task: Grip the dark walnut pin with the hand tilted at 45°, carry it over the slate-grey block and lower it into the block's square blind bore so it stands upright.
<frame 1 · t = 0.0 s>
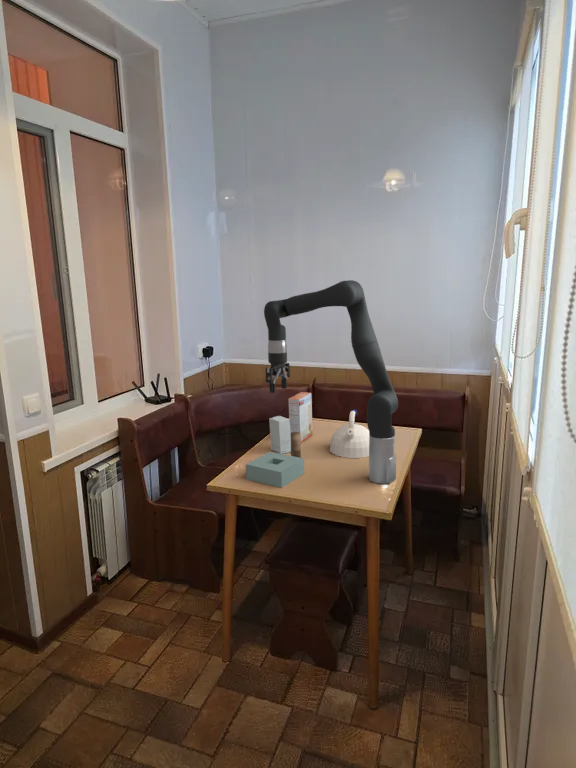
hand: (278, 390, 210), 29 cm above the table, tool pointing down, fingers open, 8 cm apart
kettle: (352, 450, 224), on the table
cracker box: (301, 438, 241), on the table
skincare box: (280, 451, 225), on the table
slate bore block: (275, 476, 197), on the table
walnut pin: (296, 463, 209), on the table
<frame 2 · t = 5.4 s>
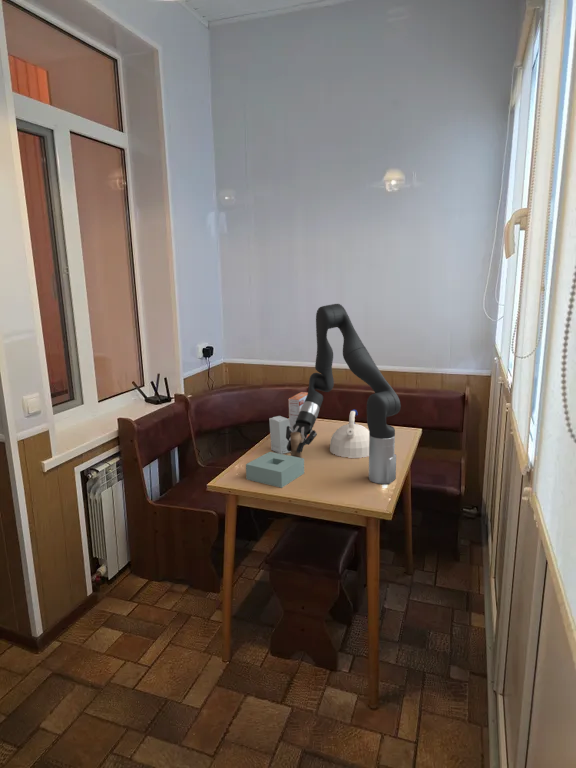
hand: (293, 451, 206), 6 cm above the table, tool tilted 45°, fingers closed on walnut pin, 4 cm apart
walnut pin: (296, 463, 209), on the table, touching gripper
everything else where it was.
when the fingers open (9 cm above the table, at t = 12.5 s): walnut pin drops 2 cm, resting on slate bore block.
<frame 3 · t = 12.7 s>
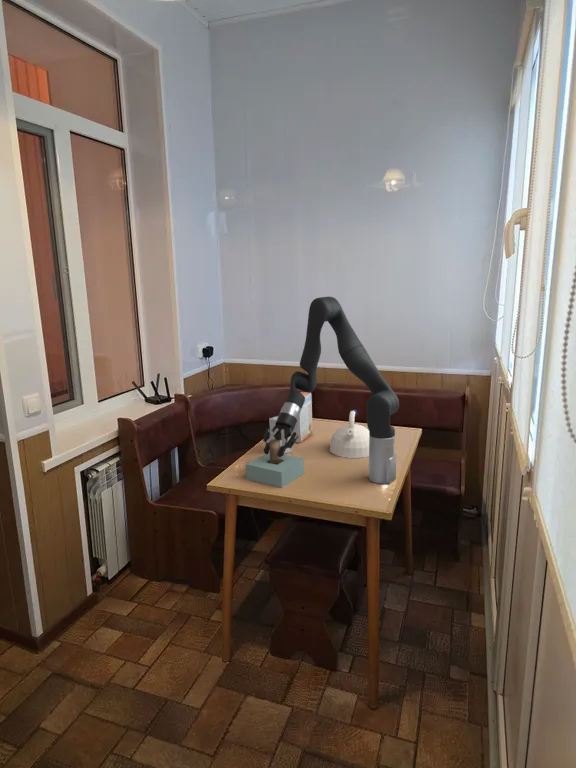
hand: (272, 454, 194), 9 cm above the table, tool tilted 45°, fingers open, 5 cm apart
walnut pin: (275, 473, 197), point 1 cm above the table, touching slate bore block
everything else where it was.
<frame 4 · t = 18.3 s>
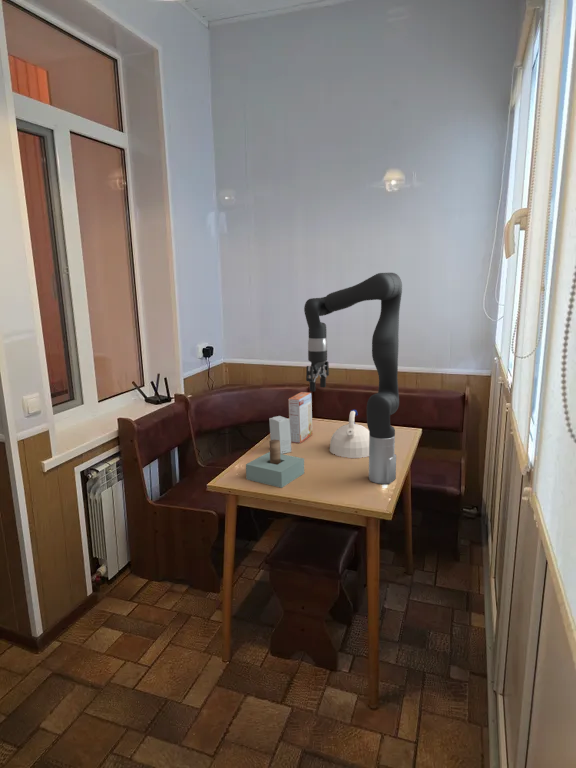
hand: (317, 389, 206), 30 cm above the table, tool pointing down, fingers open, 8 cm apart
nothing on the table moved.
at the end: walnut pin 0.1 cm off-centre on the slate bore block, point 1.0 cm above the slate bore block's base; walnut pin tilted 0°; the gripper is holding nothing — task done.
